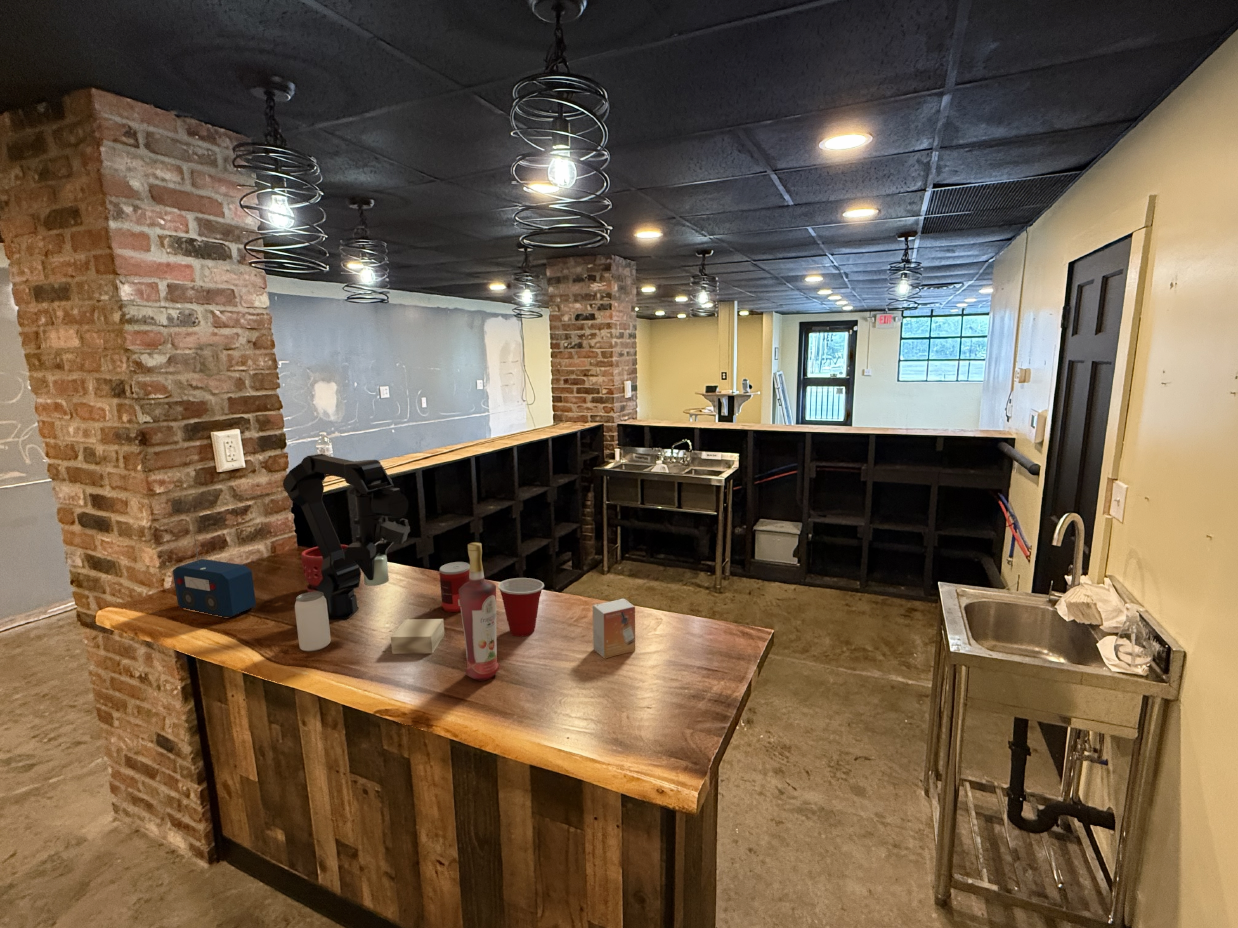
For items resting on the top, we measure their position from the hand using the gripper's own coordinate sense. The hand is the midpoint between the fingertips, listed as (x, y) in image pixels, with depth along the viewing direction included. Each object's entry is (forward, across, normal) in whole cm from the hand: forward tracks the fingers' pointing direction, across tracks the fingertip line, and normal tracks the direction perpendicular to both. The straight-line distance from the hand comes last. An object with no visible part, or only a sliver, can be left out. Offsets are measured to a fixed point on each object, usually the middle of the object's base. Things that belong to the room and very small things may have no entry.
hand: (376, 575), depth 144 cm
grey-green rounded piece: (+2, 0, 0) cm, 2 cm away
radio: (+13, +11, +48) cm, 51 cm away
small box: (+13, -14, -58) cm, 61 cm away
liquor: (+13, -24, -31) cm, 41 cm away
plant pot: (+13, +24, +24) cm, 36 cm away
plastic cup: (+13, -4, -36) cm, 38 cm away
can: (+13, -10, +11) cm, 20 cm away
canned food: (+13, +11, -16) cm, 23 cm away
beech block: (+13, -10, -13) cm, 21 cm away
